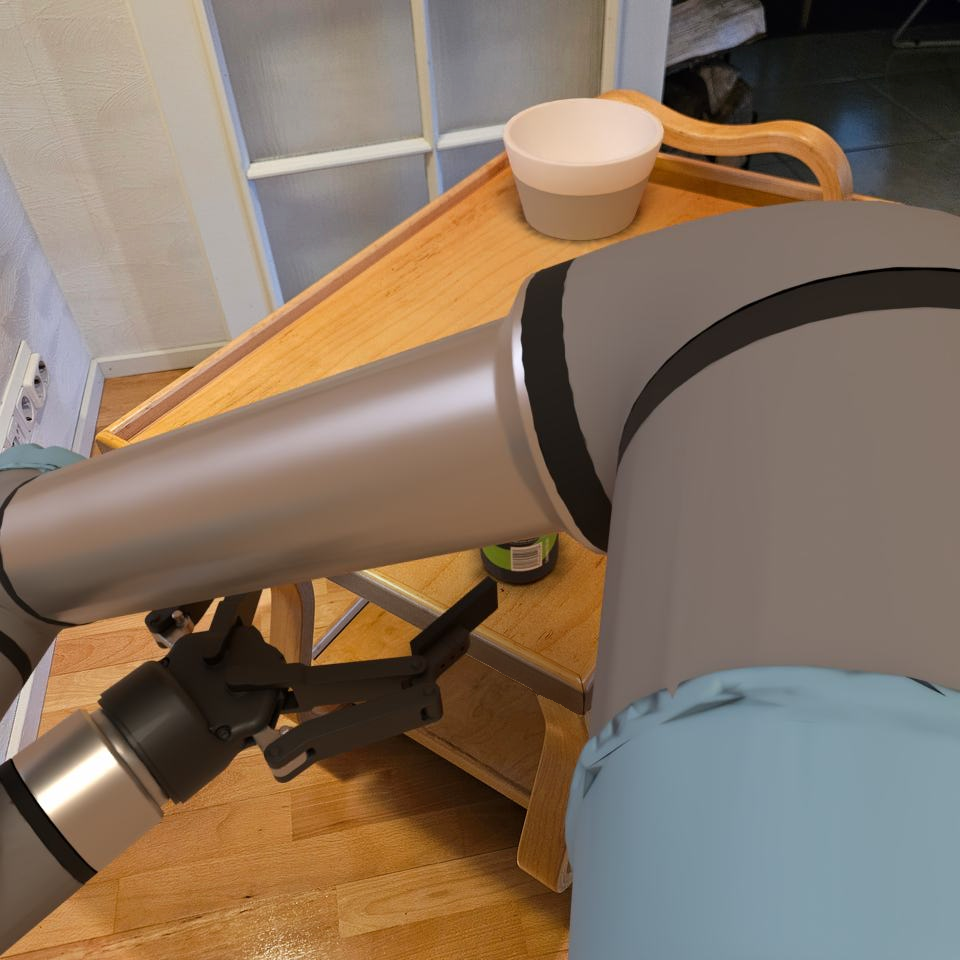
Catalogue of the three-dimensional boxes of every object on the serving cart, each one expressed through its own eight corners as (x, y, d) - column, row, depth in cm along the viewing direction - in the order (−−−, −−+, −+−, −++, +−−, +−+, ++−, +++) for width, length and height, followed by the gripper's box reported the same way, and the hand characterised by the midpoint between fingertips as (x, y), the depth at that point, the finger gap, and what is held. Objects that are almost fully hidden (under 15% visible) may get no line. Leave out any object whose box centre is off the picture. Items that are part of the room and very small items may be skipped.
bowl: (598, 269, 97) (603, 181, 89) (474, 221, 106) (469, 138, 98) (684, 203, 107) (695, 119, 99) (563, 165, 116) (565, 86, 108)
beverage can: (570, 545, 68) (577, 406, 57) (536, 600, 64) (537, 462, 54) (503, 519, 70) (497, 381, 60) (467, 571, 67) (454, 434, 56)
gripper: (56, 658, 54) (315, 484, 64) (281, 954, 41) (561, 678, 51) (4, 589, 49) (295, 410, 59) (244, 905, 36) (564, 607, 46)
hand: (420, 535), depth 55 cm, fingers open, 13 cm apart
